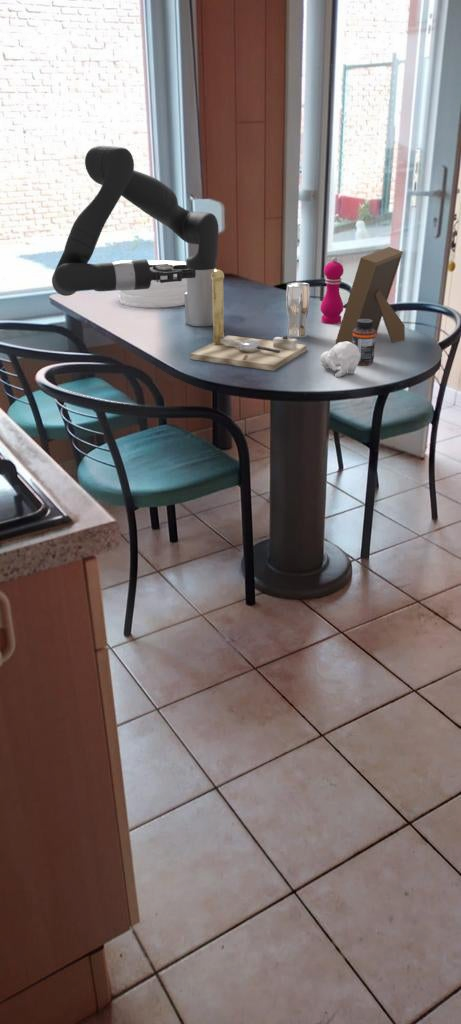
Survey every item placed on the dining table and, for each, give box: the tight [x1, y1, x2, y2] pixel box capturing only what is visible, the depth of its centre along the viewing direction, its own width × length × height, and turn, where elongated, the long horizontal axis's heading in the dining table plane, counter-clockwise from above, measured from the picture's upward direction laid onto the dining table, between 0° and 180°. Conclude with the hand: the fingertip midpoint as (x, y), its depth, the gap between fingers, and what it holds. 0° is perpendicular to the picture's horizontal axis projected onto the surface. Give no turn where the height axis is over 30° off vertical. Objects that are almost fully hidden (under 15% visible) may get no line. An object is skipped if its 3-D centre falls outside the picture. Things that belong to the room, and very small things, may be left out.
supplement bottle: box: [352, 319, 377, 366], centre depth 204 cm, size 6×6×11 cm
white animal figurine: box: [319, 341, 361, 378], centre depth 197 cm, size 6×8×12 cm
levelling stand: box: [189, 335, 308, 372], centre depth 213 cm, size 25×22×5 cm
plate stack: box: [118, 260, 187, 309], centre depth 279 cm, size 28×28×12 cm
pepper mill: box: [320, 256, 344, 325], centre depth 243 cm, size 7×7×20 cm
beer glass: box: [285, 281, 311, 339], centre depth 229 cm, size 7×7×15 cm
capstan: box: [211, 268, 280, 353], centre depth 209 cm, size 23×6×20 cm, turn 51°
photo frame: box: [335, 246, 406, 345], centre depth 220 cm, size 15×22×25 cm
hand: (190, 270), depth 207 cm, fingers open, 6 cm apart
